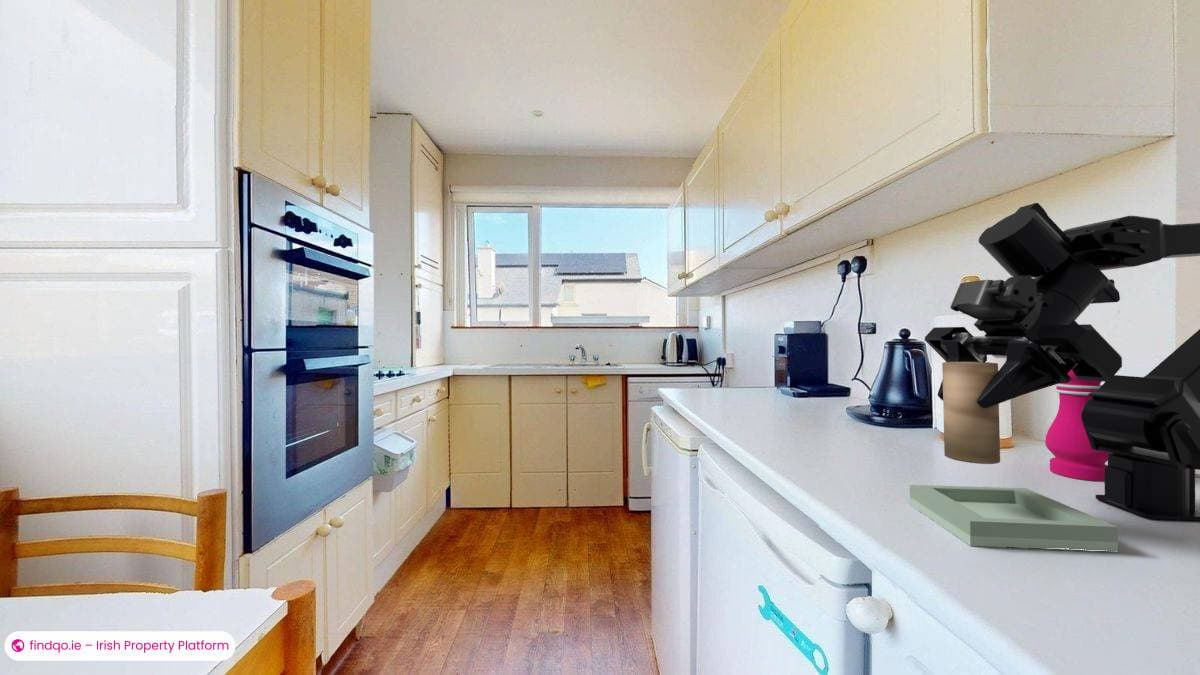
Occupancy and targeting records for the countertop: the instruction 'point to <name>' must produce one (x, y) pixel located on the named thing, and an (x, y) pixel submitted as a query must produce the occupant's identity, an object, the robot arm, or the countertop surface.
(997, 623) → the countertop surface
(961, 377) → the walnut leg
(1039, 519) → the socket board
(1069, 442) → the pepper mill
